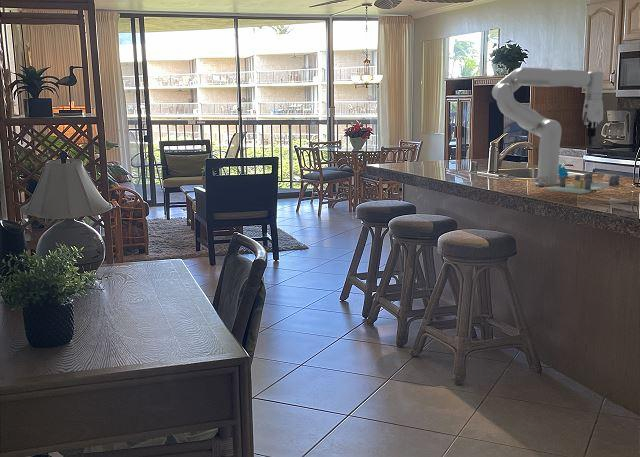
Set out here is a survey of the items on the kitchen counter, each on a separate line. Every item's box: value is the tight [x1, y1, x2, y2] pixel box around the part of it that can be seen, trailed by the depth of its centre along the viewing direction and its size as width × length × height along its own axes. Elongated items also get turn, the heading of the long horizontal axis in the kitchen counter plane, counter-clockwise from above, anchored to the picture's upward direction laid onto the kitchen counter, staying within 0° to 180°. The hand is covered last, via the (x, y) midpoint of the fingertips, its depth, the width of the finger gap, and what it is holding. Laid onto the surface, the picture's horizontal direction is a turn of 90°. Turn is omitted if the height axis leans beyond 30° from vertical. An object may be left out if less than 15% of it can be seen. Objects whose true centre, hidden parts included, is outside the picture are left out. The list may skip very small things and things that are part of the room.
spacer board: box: [545, 172, 621, 194], centre depth 319 cm, size 34×18×6 cm, turn 127°
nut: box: [573, 179, 585, 188], centre depth 315 cm, size 6×7×3 cm
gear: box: [558, 163, 569, 179], centre depth 363 cm, size 11×6×10 cm
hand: (591, 136), depth 329 cm, fingers closed
